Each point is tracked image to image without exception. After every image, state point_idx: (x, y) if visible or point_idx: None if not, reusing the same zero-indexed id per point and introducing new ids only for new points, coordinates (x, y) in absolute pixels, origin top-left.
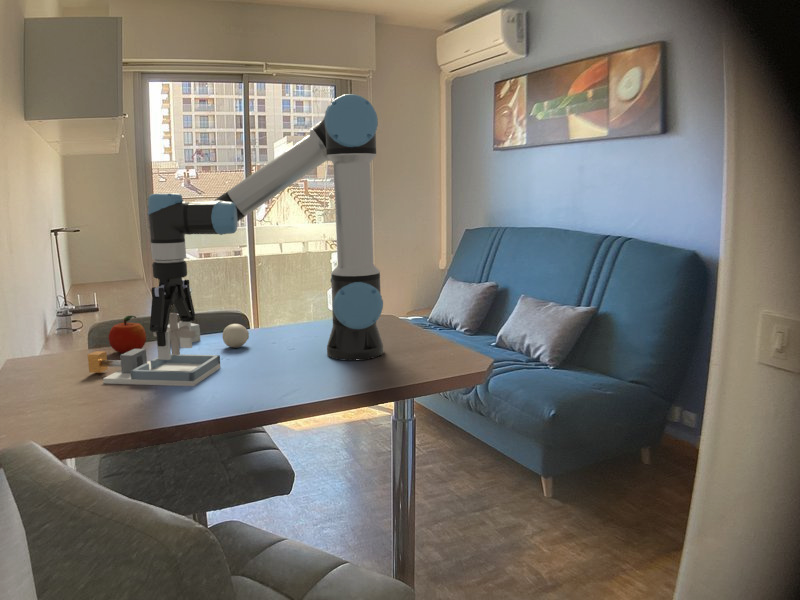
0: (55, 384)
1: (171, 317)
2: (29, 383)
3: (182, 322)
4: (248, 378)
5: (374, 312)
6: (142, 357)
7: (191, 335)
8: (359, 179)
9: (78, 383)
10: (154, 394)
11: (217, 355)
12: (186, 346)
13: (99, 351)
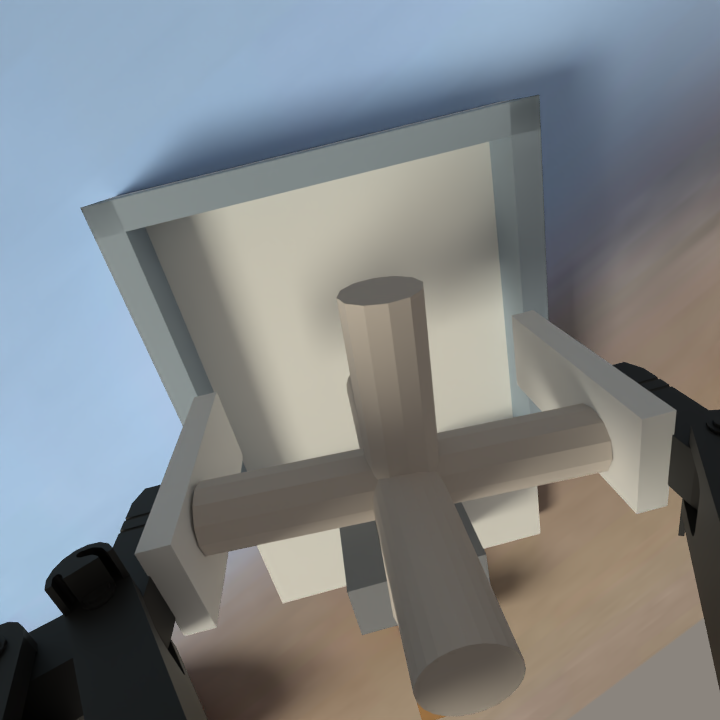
0: (562, 625)
1: (503, 616)
2: (562, 680)
3: (201, 596)
4: None
5: None
6: (380, 550)
7: (422, 281)
8: None
9: (542, 582)
10: (645, 220)
11: (93, 223)
12: (225, 426)
13: (420, 712)
